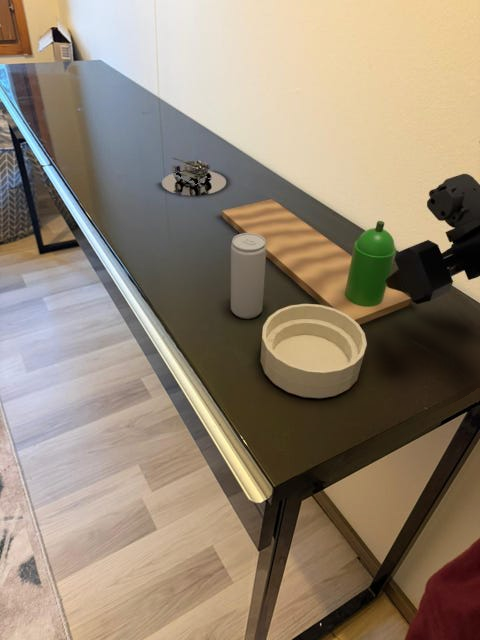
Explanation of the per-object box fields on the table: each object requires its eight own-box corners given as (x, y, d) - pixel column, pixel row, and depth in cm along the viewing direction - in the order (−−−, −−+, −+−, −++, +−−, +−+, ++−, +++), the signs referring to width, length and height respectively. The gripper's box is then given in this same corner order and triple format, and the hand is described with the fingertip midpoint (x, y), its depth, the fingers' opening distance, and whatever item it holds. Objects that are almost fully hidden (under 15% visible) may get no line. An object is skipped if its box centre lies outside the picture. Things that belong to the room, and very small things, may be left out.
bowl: (367, 346, 63) (375, 318, 60) (346, 414, 54) (353, 385, 51) (279, 322, 67) (282, 294, 64) (245, 381, 58) (246, 352, 55)
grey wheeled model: (193, 165, 115) (192, 143, 111) (239, 180, 108) (239, 158, 104) (148, 183, 106) (145, 159, 102) (195, 201, 99) (194, 177, 95)
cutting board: (408, 305, 71) (411, 298, 70) (348, 329, 66) (350, 321, 65) (271, 205, 98) (271, 198, 97) (221, 217, 93) (221, 210, 92)
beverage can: (241, 297, 72) (242, 229, 64) (268, 307, 70) (272, 238, 62) (224, 313, 69) (224, 243, 61) (252, 324, 67) (255, 253, 59)
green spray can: (390, 297, 70) (411, 224, 62) (366, 311, 67) (384, 236, 59) (361, 280, 73) (377, 209, 66) (336, 293, 71) (350, 220, 63)
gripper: (541, 145, 51) (433, 202, 65) (433, 179, 43) (336, 235, 57) (580, 236, 51) (463, 273, 65) (479, 288, 43) (370, 317, 57)
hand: (410, 273), depth 61 cm, fingers open, 9 cm apart
